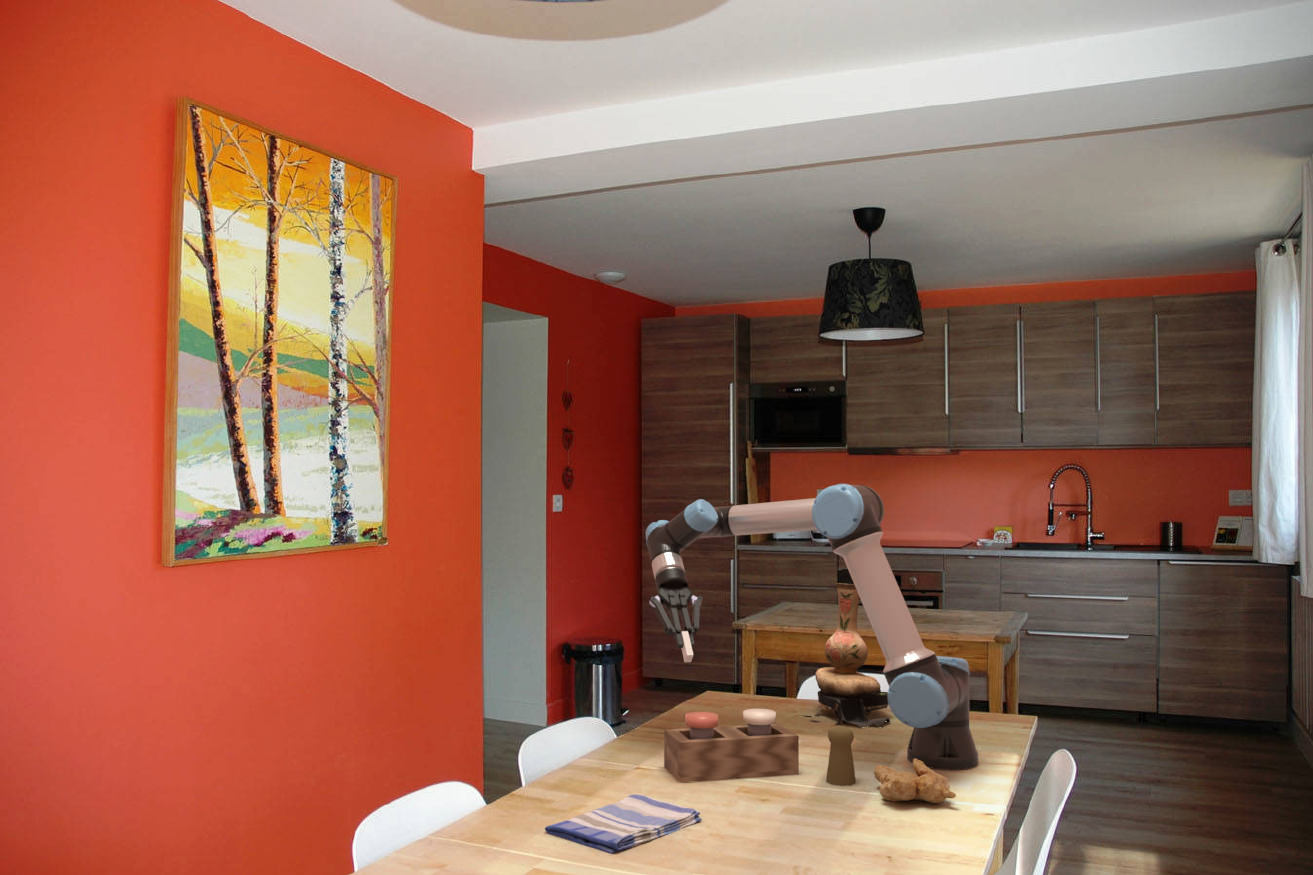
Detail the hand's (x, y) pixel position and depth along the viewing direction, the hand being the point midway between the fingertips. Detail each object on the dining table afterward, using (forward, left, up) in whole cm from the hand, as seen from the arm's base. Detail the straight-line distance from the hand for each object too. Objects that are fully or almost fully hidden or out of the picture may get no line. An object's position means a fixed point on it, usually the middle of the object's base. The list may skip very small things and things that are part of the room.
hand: (689, 658), depth 227 cm
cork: (-32, -13, -22) cm, 41 cm away
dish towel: (-26, +39, -23) cm, 52 cm away
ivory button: (-15, -7, -17) cm, 24 cm away
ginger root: (-49, -14, -23) cm, 56 cm away
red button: (-10, +5, -17) cm, 20 cm away
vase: (+6, -63, -22) cm, 67 cm away
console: (-12, -1, -22) cm, 25 cm away
